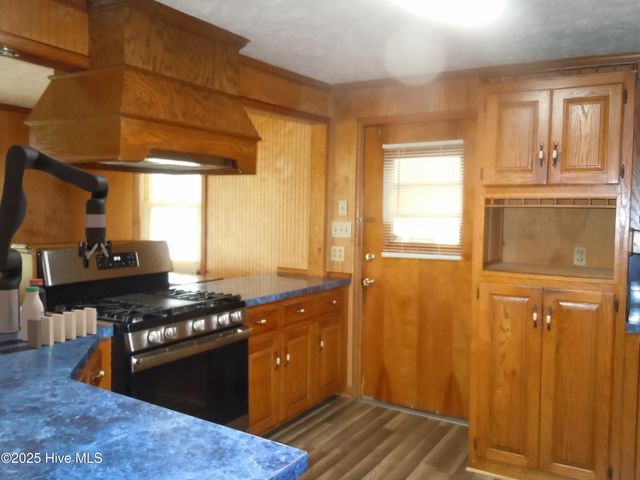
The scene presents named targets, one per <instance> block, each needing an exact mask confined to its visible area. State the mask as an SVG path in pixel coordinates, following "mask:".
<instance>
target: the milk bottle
mask: <svg viewBox="0 0 640 480" xmlns="http://www.w3.org/2000/svg"><path fill="white" fill-rule="evenodd" d="M24 290H25V293H24V294H25V298H24V300H23V303H22V305H21V307H20V328H21V330H20V332H21V333H20V336H21V341H23V342H28V331H27V319H38V320H40V317H42V316H44V308H43V304H42V302H41V300H40V298H39V295H38V293H39V287H30V286H27V287H25V288H24Z"/></svg>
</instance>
